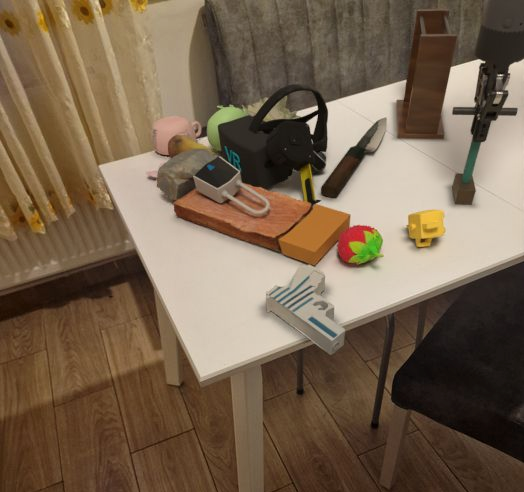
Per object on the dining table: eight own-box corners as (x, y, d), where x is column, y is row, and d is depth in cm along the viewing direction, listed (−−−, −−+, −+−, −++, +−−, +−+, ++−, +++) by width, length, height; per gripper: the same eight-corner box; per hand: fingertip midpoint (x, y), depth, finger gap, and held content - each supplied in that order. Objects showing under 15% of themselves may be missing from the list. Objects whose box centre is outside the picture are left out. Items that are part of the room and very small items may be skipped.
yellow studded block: (428, 242, 88) (401, 247, 88) (426, 209, 87) (398, 213, 86) (452, 244, 81) (422, 249, 80) (450, 207, 79) (420, 212, 79)
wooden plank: (313, 268, 82) (313, 252, 79) (174, 218, 94) (170, 202, 91) (349, 228, 89) (351, 212, 86) (216, 186, 101) (214, 171, 98)
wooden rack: (396, 103, 124) (409, 8, 109) (437, 104, 122) (457, 8, 108) (397, 138, 111) (412, 36, 97) (443, 139, 110) (466, 36, 95)
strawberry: (324, 223, 80) (364, 251, 74) (360, 210, 83) (402, 236, 77) (322, 254, 84) (360, 283, 78) (357, 240, 87) (396, 267, 81)
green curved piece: (206, 84, 101) (190, 112, 111) (219, 138, 102) (202, 161, 111) (258, 85, 107) (238, 111, 116) (270, 136, 107) (249, 158, 117)
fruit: (168, 126, 104) (225, 133, 106) (168, 147, 110) (223, 153, 111) (166, 147, 102) (225, 153, 104) (167, 167, 108) (223, 172, 109)
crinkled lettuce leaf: (283, 124, 127) (231, 134, 121) (281, 91, 123) (227, 99, 117) (320, 127, 115) (264, 139, 109) (318, 90, 111) (261, 100, 105)
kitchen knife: (346, 189, 93) (321, 184, 95) (345, 200, 95) (320, 195, 97) (397, 113, 114) (375, 110, 116) (395, 123, 116) (374, 120, 118)
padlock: (219, 153, 91) (279, 190, 85) (222, 172, 95) (280, 208, 89) (192, 174, 89) (252, 213, 83) (197, 192, 93) (254, 230, 87)
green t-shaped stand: (433, 186, 97) (452, 99, 85) (487, 188, 95) (514, 100, 84) (435, 203, 93) (455, 114, 81) (491, 205, 92) (520, 115, 80)
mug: (140, 119, 111) (147, 145, 115) (157, 132, 105) (163, 160, 109) (189, 106, 115) (193, 132, 119) (208, 117, 109) (212, 145, 113)
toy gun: (306, 261, 78) (258, 291, 74) (378, 307, 70) (329, 343, 66) (306, 276, 80) (259, 306, 76) (376, 322, 73) (328, 358, 69)
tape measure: (297, 133, 95) (262, 127, 91) (311, 122, 91) (275, 115, 87) (309, 208, 94) (274, 206, 90) (323, 200, 91) (288, 197, 86)
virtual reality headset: (214, 167, 108) (202, 94, 97) (300, 134, 115) (298, 63, 104) (260, 203, 97) (252, 126, 85) (351, 165, 103) (355, 88, 92)
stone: (191, 149, 102) (206, 129, 95) (215, 182, 104) (231, 166, 97) (146, 177, 96) (159, 158, 90) (172, 212, 98) (187, 196, 91)
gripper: (546, 35, 68) (506, 157, 81) (527, 7, 77) (494, 120, 90) (488, 36, 69) (458, 156, 82) (476, 8, 78) (451, 120, 91)
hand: (477, 137), depth 86 cm, fingers closed
